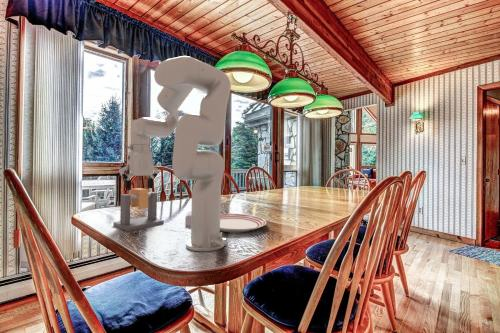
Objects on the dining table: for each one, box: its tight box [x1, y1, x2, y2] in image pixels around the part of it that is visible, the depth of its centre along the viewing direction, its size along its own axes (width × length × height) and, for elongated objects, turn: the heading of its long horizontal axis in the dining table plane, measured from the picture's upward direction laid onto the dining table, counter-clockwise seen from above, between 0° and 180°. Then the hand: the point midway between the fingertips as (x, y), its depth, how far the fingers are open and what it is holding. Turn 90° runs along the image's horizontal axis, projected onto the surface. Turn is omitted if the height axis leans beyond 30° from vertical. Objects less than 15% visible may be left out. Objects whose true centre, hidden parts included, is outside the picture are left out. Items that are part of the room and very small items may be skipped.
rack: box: [113, 191, 165, 232], centre depth 108 cm, size 12×16×14 cm
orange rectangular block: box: [130, 187, 149, 210], centre depth 108 cm, size 7×4×8 cm, turn 53°
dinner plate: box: [220, 213, 267, 233], centre depth 109 cm, size 28×27×3 cm
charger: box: [184, 210, 192, 227], centre depth 116 cm, size 5×9×15 cm
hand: (139, 188), depth 108 cm, fingers open, 9 cm apart
